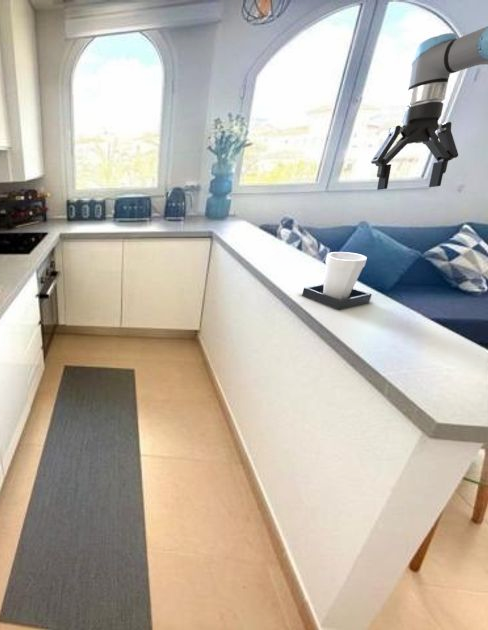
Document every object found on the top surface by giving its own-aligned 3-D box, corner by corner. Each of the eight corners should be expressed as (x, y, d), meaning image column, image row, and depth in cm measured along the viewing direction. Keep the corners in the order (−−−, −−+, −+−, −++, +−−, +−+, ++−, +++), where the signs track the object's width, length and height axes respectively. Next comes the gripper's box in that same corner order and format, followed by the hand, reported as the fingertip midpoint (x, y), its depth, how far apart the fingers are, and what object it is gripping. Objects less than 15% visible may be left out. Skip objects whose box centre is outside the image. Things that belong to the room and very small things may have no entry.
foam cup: (338, 289, 111) (349, 250, 106) (361, 300, 103) (375, 259, 97) (309, 292, 111) (319, 253, 106) (331, 303, 103) (343, 262, 97)
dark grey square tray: (369, 302, 104) (372, 294, 102) (338, 309, 101) (340, 301, 100) (330, 289, 114) (333, 281, 113) (301, 295, 111) (303, 287, 110)
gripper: (461, 106, 95) (444, 186, 100) (363, 113, 98) (351, 191, 103) (490, 96, 88) (470, 183, 93) (383, 104, 91) (370, 189, 96)
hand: (408, 188), depth 98 cm, fingers open, 13 cm apart
